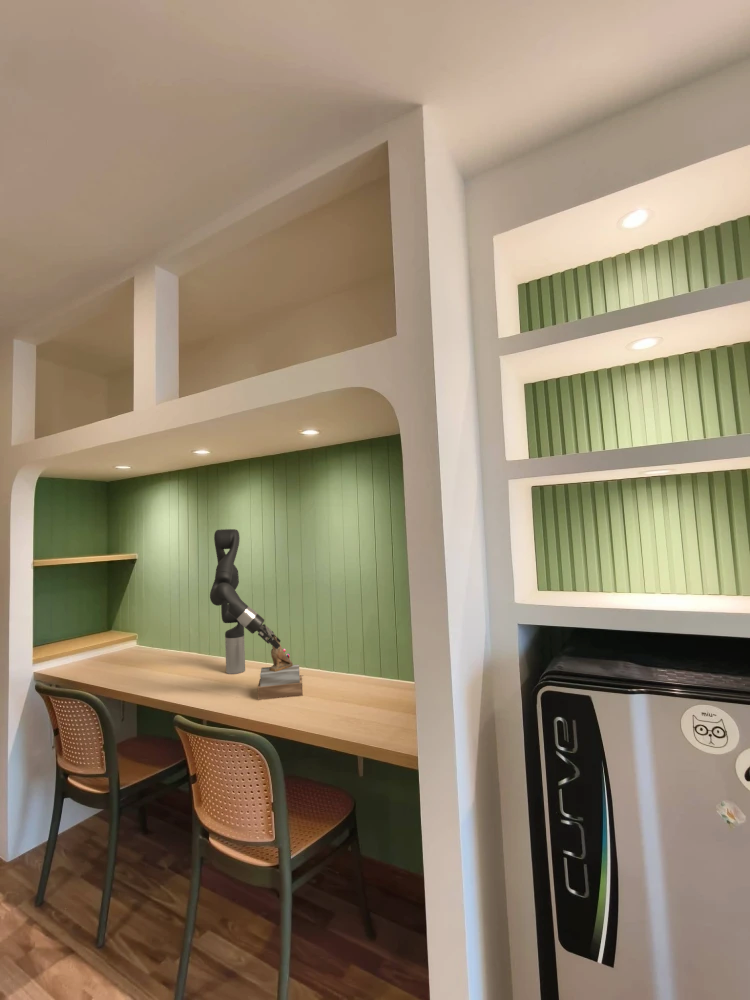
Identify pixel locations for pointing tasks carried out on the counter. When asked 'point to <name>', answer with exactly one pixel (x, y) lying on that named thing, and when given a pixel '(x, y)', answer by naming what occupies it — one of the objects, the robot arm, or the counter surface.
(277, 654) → the brown carved statuette
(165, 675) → the counter surface
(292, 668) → the grey and brown block
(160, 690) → the counter surface
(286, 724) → the counter surface
